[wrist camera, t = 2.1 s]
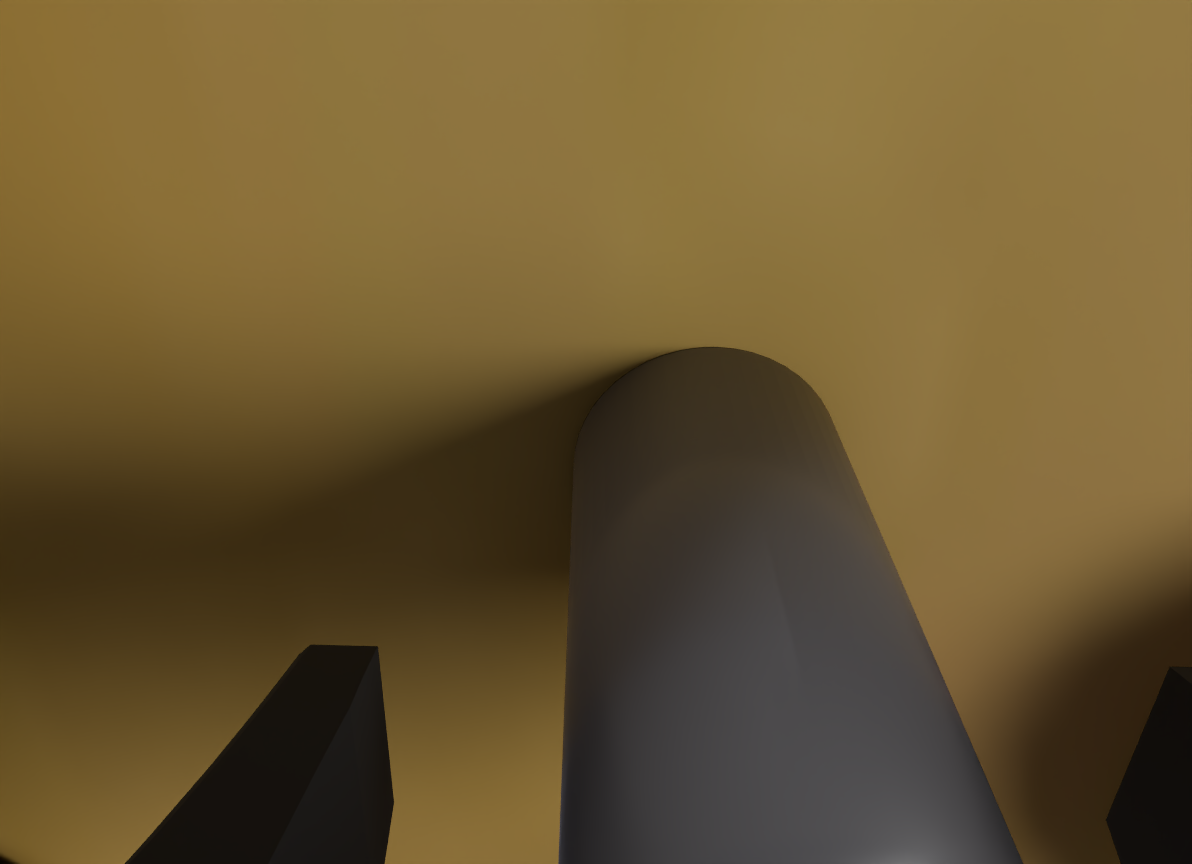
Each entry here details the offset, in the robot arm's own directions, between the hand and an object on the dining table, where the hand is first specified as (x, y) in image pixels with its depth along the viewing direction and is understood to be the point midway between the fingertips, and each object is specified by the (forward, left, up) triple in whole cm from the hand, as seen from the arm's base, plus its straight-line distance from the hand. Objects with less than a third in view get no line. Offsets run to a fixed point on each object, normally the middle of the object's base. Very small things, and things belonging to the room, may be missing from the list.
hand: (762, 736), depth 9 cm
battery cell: (0, 0, -5) cm, 5 cm away
